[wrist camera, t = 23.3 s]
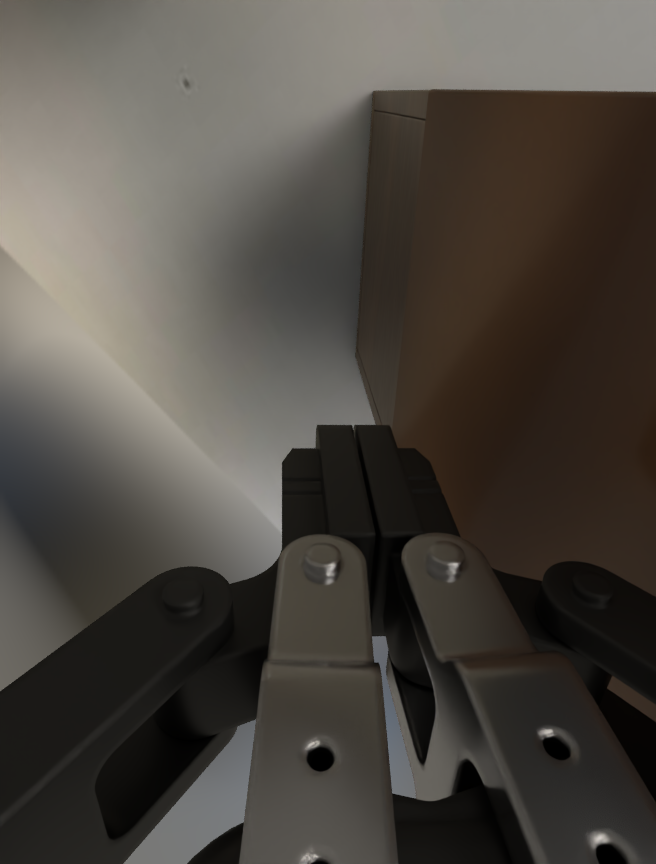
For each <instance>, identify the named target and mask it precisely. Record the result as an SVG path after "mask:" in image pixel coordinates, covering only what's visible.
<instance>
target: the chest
mask: <svg viewBox="0 0 656 864" xmlns="http://www.w3.org/2000/svg"><path fill="white" fill-rule="evenodd" d="M429 91H430V90H388V91H373V98H372V113H371V128H370V143H369V158H368V173H367V188H366V203H365V218H364V233H363V248H362V263H361V278H360V293H359V308H358V323H357V338H356V353H355V357H356V360H357V364H358V367H359V371H360V374H361V377H362V381H363V384H364V387H365V391H366V394H367V397H368V400H369V404H370V407H371V410H372V414H373V417H374V420H375V424H376V425H390V427H391V429H392V425H393V416H394V407H395V398H396V388H397V379H398V370H399V361H400V351H401V342H402V333H403V324H404V314H405V305H406V296H407V287H408V277H409V268H410V259H411V250H412V240H413V231H414V222H415V213H416V203H417V194H418V185H419V176H420V167H421V157H422V148H423V139H424V130H425V120H426V111H427V102H428V93H429Z"/></svg>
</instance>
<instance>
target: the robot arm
mask: <svg viewBox="0 0 656 864" xmlns="http://www.w3.org/2000/svg"><path fill="white" fill-rule="evenodd" d="M372 636H386V639H387V644H388V650H389V651H388V658H387V666H386V675H387V680H388V684H389V687H390V691H391V695H392V699H393V702H394V706H395V710H396V714H397V717H398V721H399V725H400V728H401V732H402V736H403V740H404V743H405V747H406V751H407V755H408V758H409V762H410V766H411V769H412V774H413V778H414V784H415V790H416V799H414V798H410V797H405V796H401V795H396V794H392V788H391V776H390V766H389V765H390V764H389V754H388V742H387V731H386V720H385V708H384V697H383V686H382V676H381V670H380V665H379V663H374V656H373V644H372ZM612 676H614V677H615V678H617V679H618V680H620V681H621V682H623V683H624V684H626V685H627V686H629V687H630V688H632V689H633V690H635V691H636V692H638V693H639V694H640V695H642V696H643V697H645V698H646V699H648V700H649V701H651V702H652V703H654V704H655V705H656V597H655V596H653V595H651V594H650V593H648V592H646V591H644V590H642V589H641V588H639V587H637V586H635V585H633V584H632V583H630V582H628V581H626V580H625V579H623V578H621V577H619V576H617V575H616V574H614V573H612V572H610V571H608V570H606V569H604V568H602V567H599V566H597V565H593V564H590V563H586V562H580V561H564V562H559V563H557V564H554V565H552V566H551V567H549V568H548V569H547V570H546V572H545V574H544V576H543V579H542V581H540V580H535V579H531V578H526V577H522V576H517V575H512V574H508V573H505V572H501V571H499V570H496V569H494V568H492V567H491V566H490V564H489V562H488V561H487V559H486V557H485V556H484V554H483V553H482V552H481V551H480V550H479V548H477V547H476V546H475V545H474V544H472V543H471V542H469V541H467V540H465V539H463V538H461V536H460V534H459V531H458V529H457V526H456V524H455V521H454V519H453V517H452V514H451V512H450V509H449V507H448V504H447V502H446V499H445V497H444V495H443V493H442V490H441V487H440V485H439V482H438V480H436V475H435V472H434V470H433V468H432V465H431V463H430V461H429V460H428V459H427V458H425V457H424V456H423V455H422V454H421V453H420V452H419V451H417V450H416V449H415V448H398V447H397V444H396V441H395V438H394V435H393V432H392V429H391V427H390V425H355V426H354V430H353V428H352V425H317V429H316V448H292V450H291V451H290V452H289V454H288V455H287V456H286V458H285V459H284V461H283V462H282V551H281V554H280V556H279V558H278V559H277V561H276V562H275V563H274V564H273V565H272V566H271V567H270V568H269V569H267V570H266V571H264V572H263V573H261V574H259V575H257V576H255V577H252V578H249V579H247V580H243V581H239V582H236V583H232V584H229V583H228V581H227V580H226V579H225V578H224V577H223V576H221V575H220V574H219V573H217V572H215V571H213V570H210V569H207V568H202V567H180V568H176V569H172V570H169V571H166V572H164V573H161V574H159V575H157V576H156V577H154V578H153V579H151V580H150V581H149V582H147V583H146V584H144V585H143V586H142V587H140V588H139V589H138V590H136V591H135V592H134V593H132V594H131V595H130V596H128V597H127V598H126V599H125V600H123V601H122V602H121V603H119V604H117V605H116V606H115V607H113V608H112V609H111V610H109V611H108V612H107V613H105V614H104V615H103V616H101V617H100V618H99V619H97V620H96V621H95V622H93V623H92V624H91V625H90V626H88V627H87V628H85V629H84V630H82V631H81V632H80V633H78V634H77V635H76V636H74V637H73V638H72V639H70V640H69V641H68V642H66V643H65V644H64V645H62V646H61V647H60V648H58V649H57V650H56V651H54V652H53V653H51V654H50V655H49V656H47V657H46V658H45V659H43V660H42V661H41V662H39V663H38V664H37V665H35V666H34V667H33V668H31V669H30V670H29V671H27V672H26V673H25V674H23V675H22V676H21V677H19V678H18V679H16V680H15V681H14V682H12V683H11V684H10V685H8V686H7V687H6V688H4V689H3V690H2V691H0V864H123V863H124V862H125V861H126V860H127V859H128V857H129V856H130V855H131V854H132V853H133V852H134V851H135V849H136V848H137V847H138V846H139V845H140V844H141V843H142V841H143V840H144V839H145V838H146V837H147V835H148V834H149V833H150V832H151V831H152V830H153V829H154V828H155V826H156V825H157V824H158V823H159V822H160V821H161V820H162V818H163V817H164V816H165V815H166V814H167V813H168V812H169V810H170V809H171V808H172V807H173V806H174V805H175V804H176V802H177V801H178V800H179V799H180V798H181V797H182V795H183V794H184V793H185V792H186V791H187V790H188V789H189V787H190V786H191V785H192V784H193V783H194V782H195V781H196V779H197V778H198V777H199V776H200V775H201V774H202V772H203V771H204V770H205V769H206V767H208V766H209V764H210V763H211V762H212V761H213V760H214V759H215V758H216V756H217V755H218V754H219V753H220V752H221V751H222V750H223V748H224V747H225V746H226V745H227V744H228V743H229V741H230V740H231V739H232V737H233V735H234V734H235V732H236V730H237V727H238V726H239V725H242V724H245V723H247V722H250V721H252V720H255V719H256V725H255V734H254V742H253V751H252V760H251V768H250V776H249V785H248V793H247V801H246V809H245V818H244V822H243V823H241V824H239V825H237V826H236V827H233V828H231V829H230V830H228V831H227V832H225V833H224V834H222V835H221V836H219V837H218V838H216V839H215V840H213V841H212V842H210V844H208V845H207V846H206V847H205V848H204V849H202V850H201V851H200V852H199V853H198V854H197V855H195V856H194V857H193V858H192V859H191V860H190V861H189V862H188V863H187V864H656V722H655V721H654V720H652V719H651V718H649V717H648V716H647V715H645V714H644V713H642V712H641V711H639V710H638V709H636V708H635V707H634V706H632V705H631V704H629V703H628V702H626V701H625V700H623V699H622V698H620V697H619V696H618V695H616V694H615V693H613V692H612V691H610V690H609V689H607V687H608V685H609V683H610V680H611V678H612Z"/></svg>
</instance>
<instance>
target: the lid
mask: <svg viewBox="0 0 656 864" xmlns="http://www.w3.org/2000/svg"><path fill="white" fill-rule="evenodd" d="M392 432H393V435H394V438H395V441H396V444H397V447H398V448H415V449H416V450H417V451H419V452H420V453H421V454H422V455H423V456H424V457H425V458H427V459H428V460H429V461H430V463H431V465H432V468H433V470H434V472H435V475H436V480H438V482H439V485H440V487H441V490H442V493H443V495H444V497H445V499H446V502H447V504H448V507H449V509H450V512H451V514H452V517H453V519H454V521H455V524H456V526H457V529H458V531H459V534H460V536H461V538H463V539H465V540H467V541H469V542H471V543H472V544H474V545H475V546H476V547H477V548H479V550H480V551H481V552H482V553H483V554H484V556H485V557H486V559H487V561H488V562H489V564H490V566H491V567H492V568H494V569H496V570H499V571H501V572H505V573H508V574H512V575H517V576H522V577H526V578H531V579H535V580H540V581H542V579H543V576H544V574H545V572H546V570H547V569H548V568H549V567H551V566H552V565H554V564H557V563H559V562H564V561H580V562H586V563H590V564H593V565H597V566H599V567H602V568H604V569H606V570H608V571H610V572H612V573H614V574H616V575H617V576H619V577H621V578H623V579H625V580H626V581H628V582H630V583H632V584H633V585H635V586H637V587H639V588H641V589H642V590H644V591H646V592H648V593H650V594H651V595H653V596H655V597H656V92H617V91H533V90H448V89H432V90H430V91H429V93H428V102H427V111H426V120H425V130H424V139H423V148H422V157H421V167H420V176H419V185H418V194H417V203H416V213H415V222H414V231H413V240H412V250H411V259H410V268H409V277H408V287H407V296H406V305H405V314H404V324H403V333H402V342H401V351H400V361H399V370H398V379H397V388H396V398H395V407H394V416H393V425H392ZM607 689H609V690H610V691H612V692H613V693H615V694H616V695H618V696H619V697H620V698H622V699H623V700H625V701H626V702H628V703H629V704H631V705H632V706H634V707H635V708H636V709H638V710H639V711H641V712H642V713H644V714H645V715H647V716H648V717H649V718H651V719H652V720H654V721H655V722H656V705H655V704H654V703H652V702H651V701H649V700H648V699H646V698H645V697H643V696H642V695H640V694H639V693H638V692H636V691H635V690H633V689H632V688H630V687H629V686H627V685H626V684H624V683H623V682H621V681H620V680H618V679H617V678H615V677H614V676H612V678H611V680H610V683H609V685H608V687H607Z"/></svg>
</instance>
